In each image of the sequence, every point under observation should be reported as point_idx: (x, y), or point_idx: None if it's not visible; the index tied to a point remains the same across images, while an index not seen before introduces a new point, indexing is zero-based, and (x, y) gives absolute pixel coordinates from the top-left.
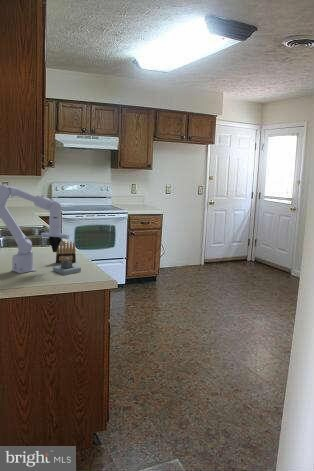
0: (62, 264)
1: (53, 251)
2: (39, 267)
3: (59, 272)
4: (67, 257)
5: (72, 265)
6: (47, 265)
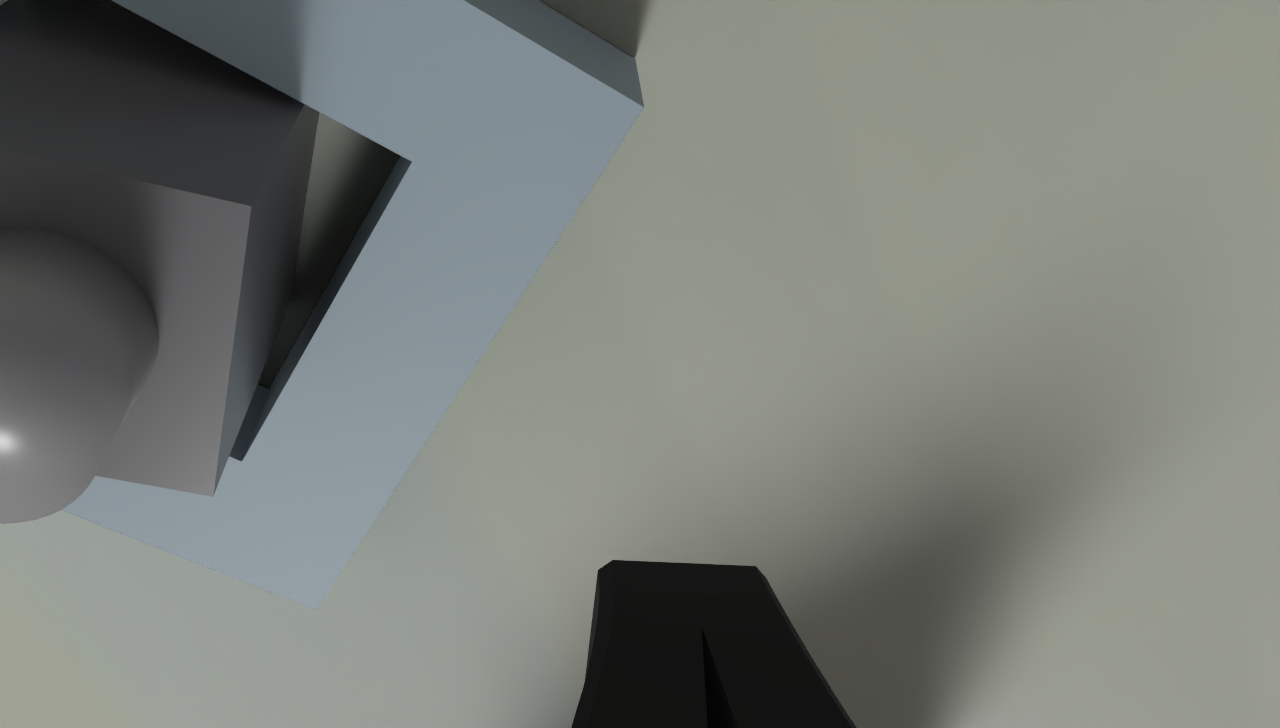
0: (187, 142)
1: (722, 582)
2: (1187, 308)
3: None
4: (3, 512)
5: (113, 507)
6: (1014, 559)
